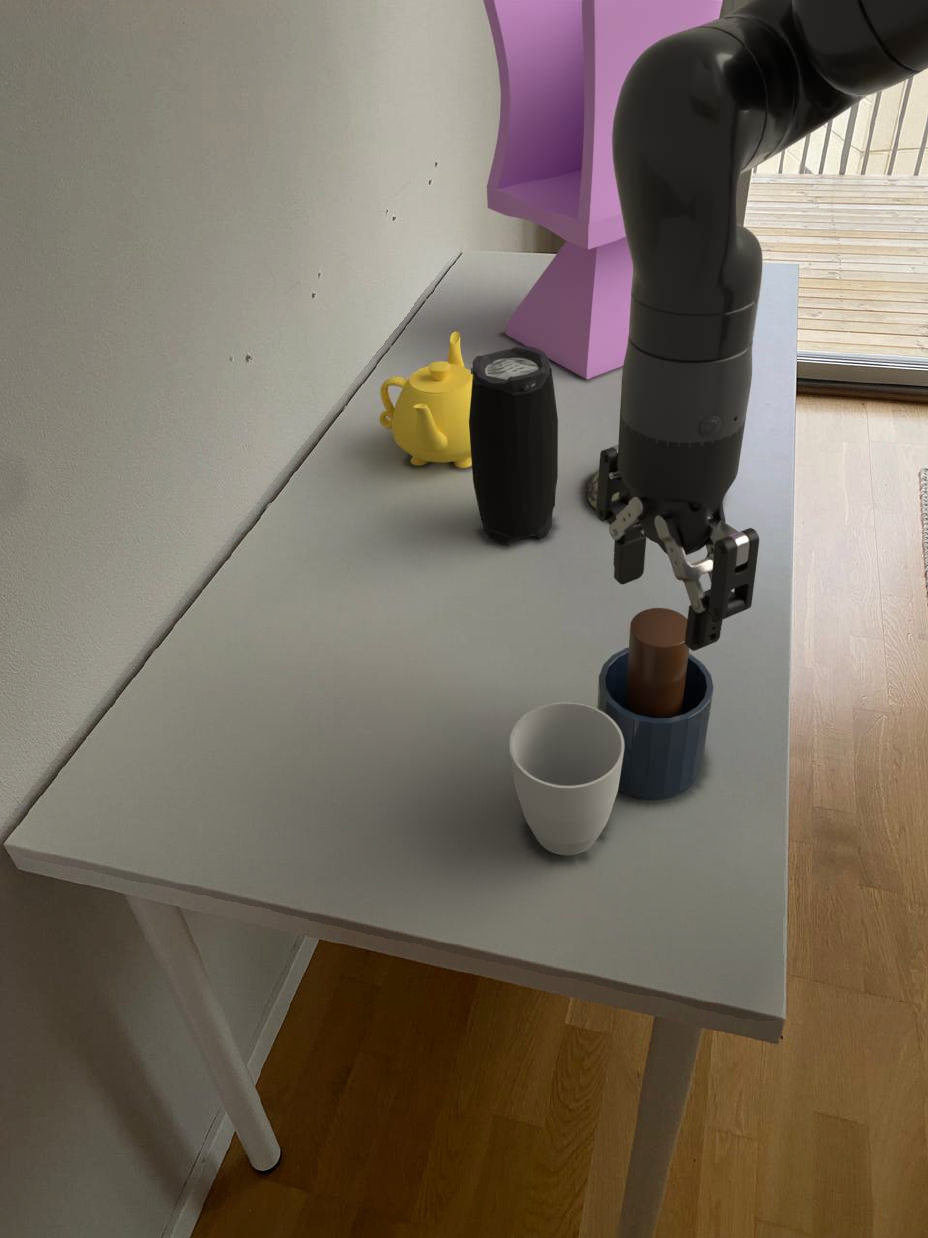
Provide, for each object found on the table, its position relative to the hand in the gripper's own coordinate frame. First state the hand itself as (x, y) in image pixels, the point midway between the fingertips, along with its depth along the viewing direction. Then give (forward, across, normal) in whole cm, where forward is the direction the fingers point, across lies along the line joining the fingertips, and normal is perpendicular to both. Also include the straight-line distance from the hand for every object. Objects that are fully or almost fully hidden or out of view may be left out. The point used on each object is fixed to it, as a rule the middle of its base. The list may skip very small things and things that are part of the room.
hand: (662, 610), depth 67 cm
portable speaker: (+16, +35, -7) cm, 39 cm away
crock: (+16, 0, 0) cm, 16 cm away
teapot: (+17, +55, -7) cm, 58 cm away
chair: (+17, +71, -42) cm, 84 cm away
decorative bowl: (+16, +32, -24) cm, 43 cm away
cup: (+16, -3, +10) cm, 19 cm away
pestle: (+16, 0, 0) cm, 16 cm away
